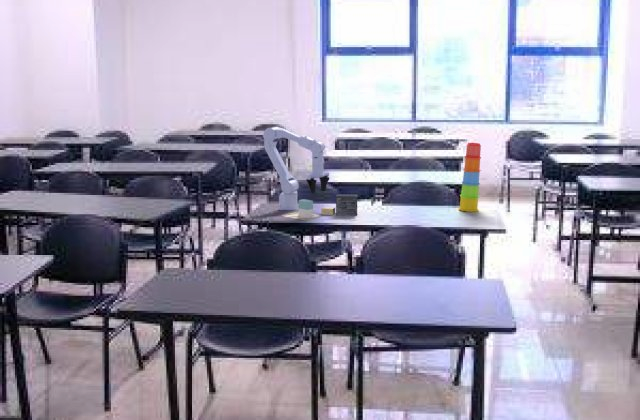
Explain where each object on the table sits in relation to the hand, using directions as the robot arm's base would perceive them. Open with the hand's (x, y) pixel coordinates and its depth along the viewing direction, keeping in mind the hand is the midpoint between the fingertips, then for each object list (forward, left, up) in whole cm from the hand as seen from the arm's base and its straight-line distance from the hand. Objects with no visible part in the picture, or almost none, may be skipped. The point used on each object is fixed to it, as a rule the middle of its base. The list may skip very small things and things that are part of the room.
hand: (318, 191), depth 372 cm
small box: (+17, +3, -11) cm, 20 cm away
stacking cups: (+54, +56, -11) cm, 78 cm away
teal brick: (+6, -15, -6) cm, 17 cm away
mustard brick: (+10, -3, -11) cm, 15 cm away
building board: (+3, -15, -10) cm, 19 cm away
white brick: (+6, -15, -10) cm, 19 cm away
